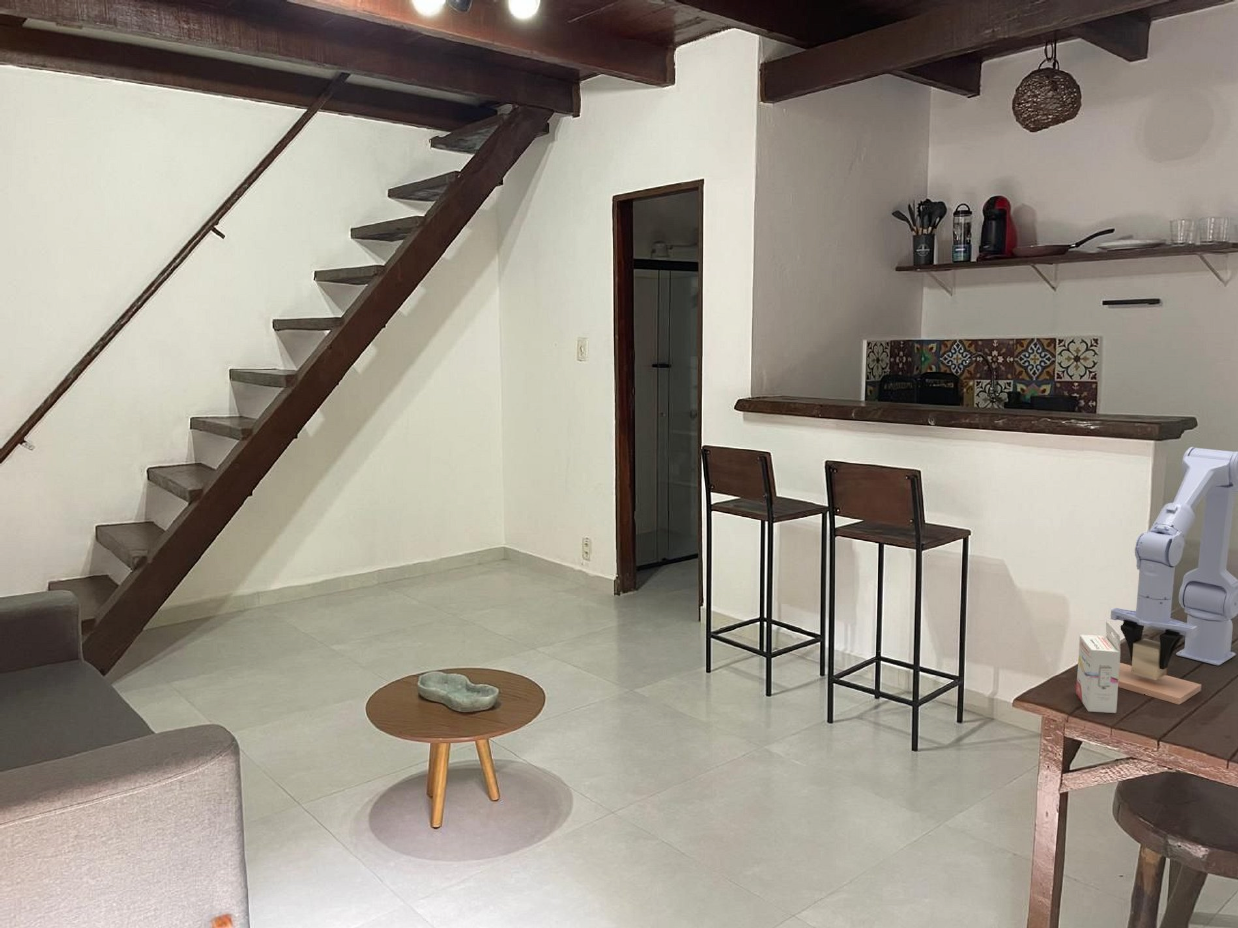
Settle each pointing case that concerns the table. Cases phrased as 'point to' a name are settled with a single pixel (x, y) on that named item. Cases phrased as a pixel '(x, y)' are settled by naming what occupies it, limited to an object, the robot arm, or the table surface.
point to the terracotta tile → (1157, 686)
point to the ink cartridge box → (1099, 671)
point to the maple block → (1147, 659)
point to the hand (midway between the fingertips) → (1149, 663)
